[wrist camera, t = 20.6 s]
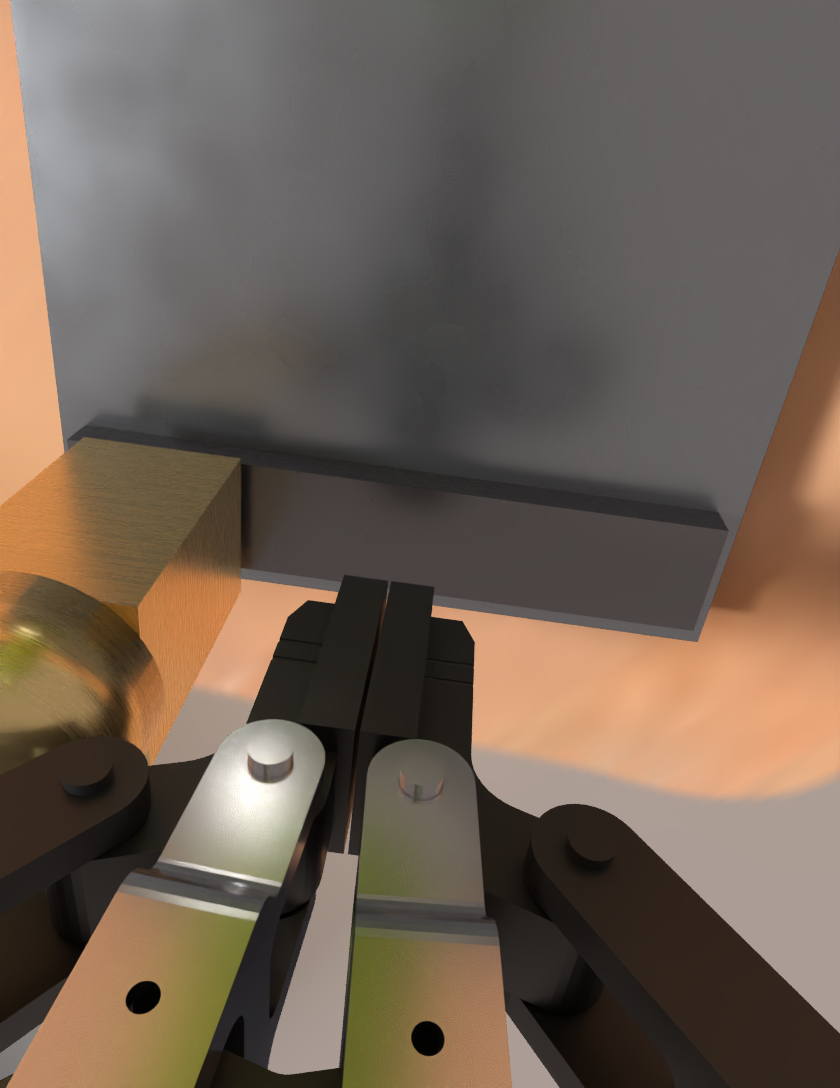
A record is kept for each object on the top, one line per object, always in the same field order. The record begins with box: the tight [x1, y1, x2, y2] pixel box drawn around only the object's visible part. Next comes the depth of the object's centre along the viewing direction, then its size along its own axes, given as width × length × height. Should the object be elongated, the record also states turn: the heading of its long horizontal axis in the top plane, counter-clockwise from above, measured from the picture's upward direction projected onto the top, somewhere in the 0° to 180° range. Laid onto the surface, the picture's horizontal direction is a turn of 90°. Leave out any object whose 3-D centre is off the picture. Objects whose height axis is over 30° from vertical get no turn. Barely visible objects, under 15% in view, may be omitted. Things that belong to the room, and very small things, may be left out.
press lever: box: [0, 437, 241, 775], centre depth 13 cm, size 4×4×7 cm
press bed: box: [10, 0, 840, 642], centre depth 13 cm, size 21×14×2 cm
